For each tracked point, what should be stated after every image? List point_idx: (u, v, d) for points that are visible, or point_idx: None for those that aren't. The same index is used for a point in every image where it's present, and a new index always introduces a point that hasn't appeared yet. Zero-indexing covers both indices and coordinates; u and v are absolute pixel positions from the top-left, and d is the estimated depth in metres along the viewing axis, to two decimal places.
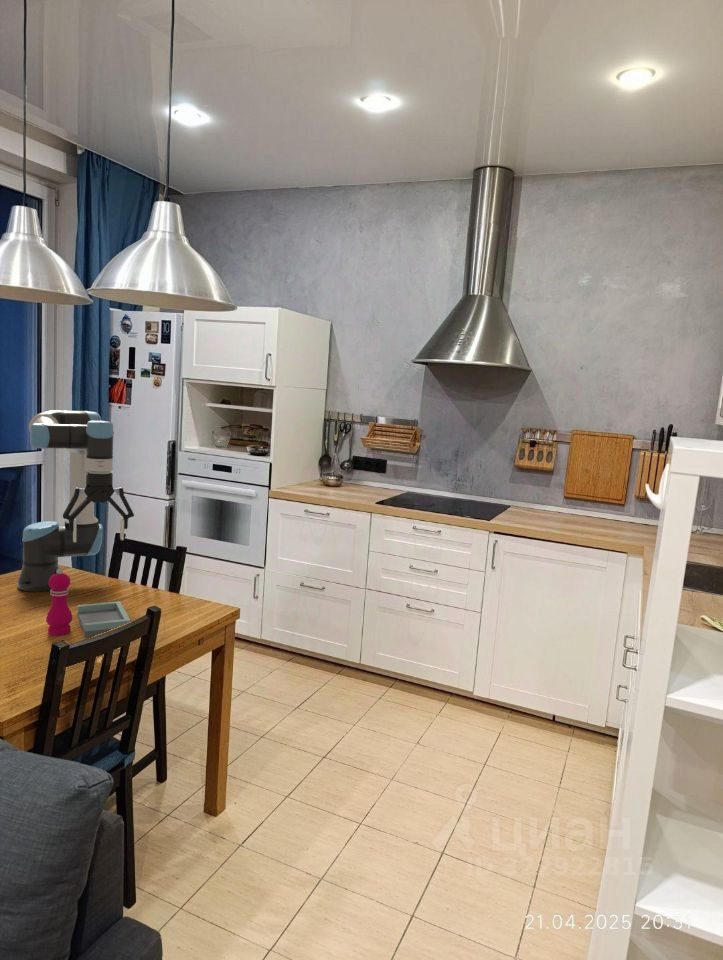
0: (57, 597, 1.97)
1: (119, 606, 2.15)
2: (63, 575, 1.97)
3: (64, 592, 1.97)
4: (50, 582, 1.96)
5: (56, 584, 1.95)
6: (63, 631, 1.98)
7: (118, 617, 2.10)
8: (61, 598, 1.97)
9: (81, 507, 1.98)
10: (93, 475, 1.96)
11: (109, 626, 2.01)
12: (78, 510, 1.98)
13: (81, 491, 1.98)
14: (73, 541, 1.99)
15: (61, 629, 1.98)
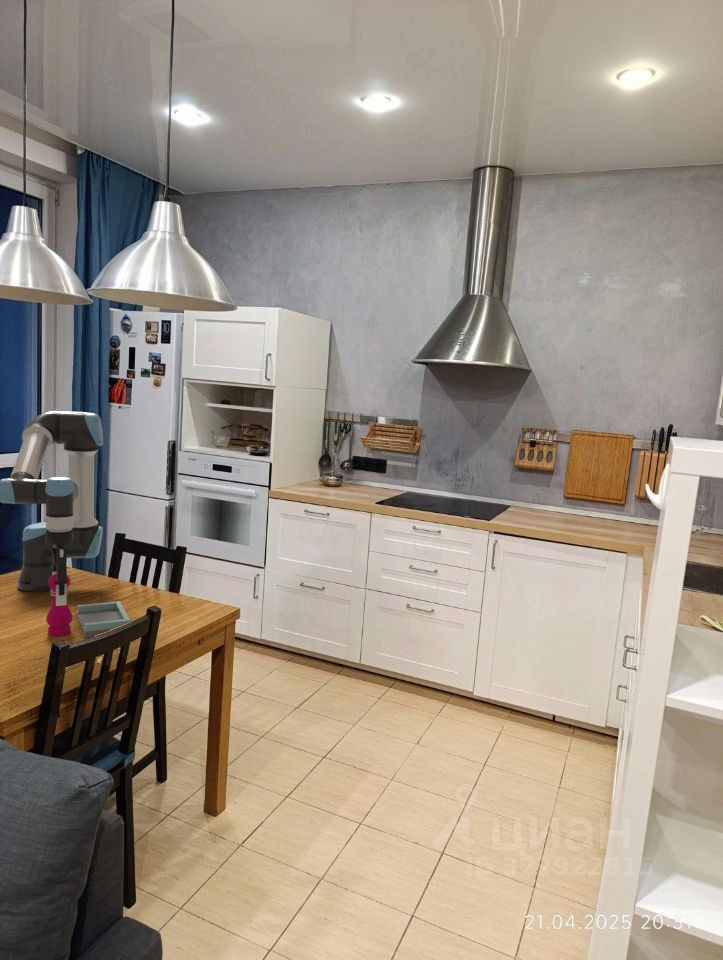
0: None
1: (119, 606, 2.15)
2: None
3: None
4: (50, 582, 1.96)
5: None
6: (63, 631, 1.98)
7: (118, 617, 2.10)
8: None
9: (53, 560, 2.01)
10: None
11: (109, 626, 2.01)
12: (53, 562, 2.02)
13: None
14: None
15: (61, 629, 1.98)
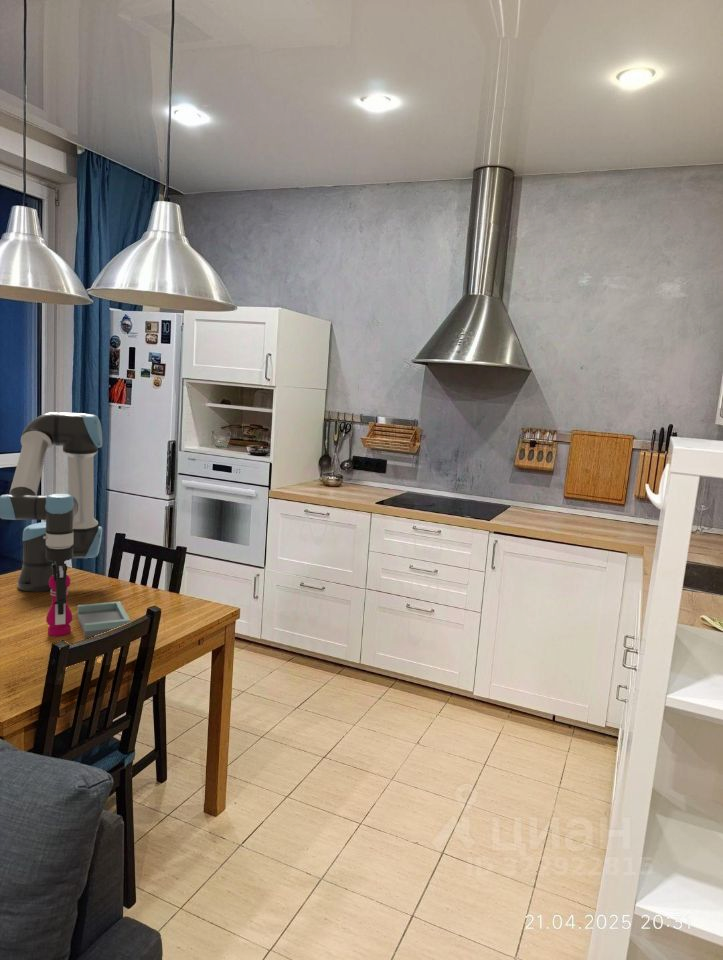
0: None
1: (119, 606, 2.15)
2: None
3: None
4: (50, 582, 1.96)
5: None
6: (63, 631, 1.98)
7: (118, 617, 2.10)
8: None
9: None
10: None
11: (109, 626, 2.01)
12: None
13: None
14: None
15: (61, 629, 1.98)
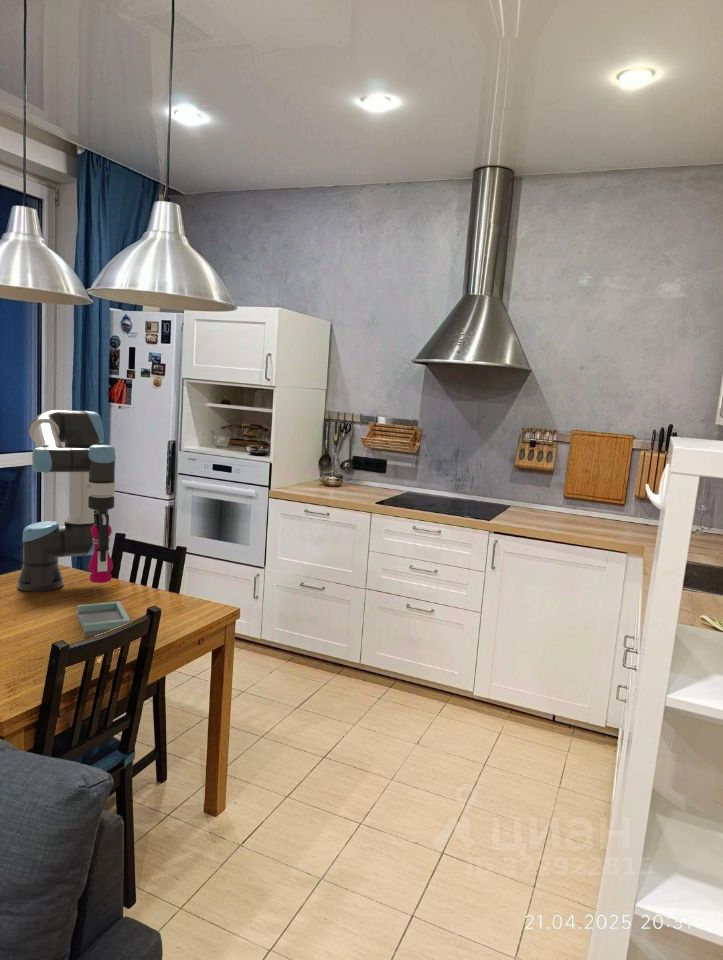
0: None
1: (119, 606, 2.15)
2: None
3: None
4: (92, 530, 2.02)
5: None
6: (105, 578, 2.04)
7: (118, 617, 2.10)
8: None
9: None
10: None
11: (109, 626, 2.01)
12: None
13: None
14: None
15: (103, 576, 2.04)
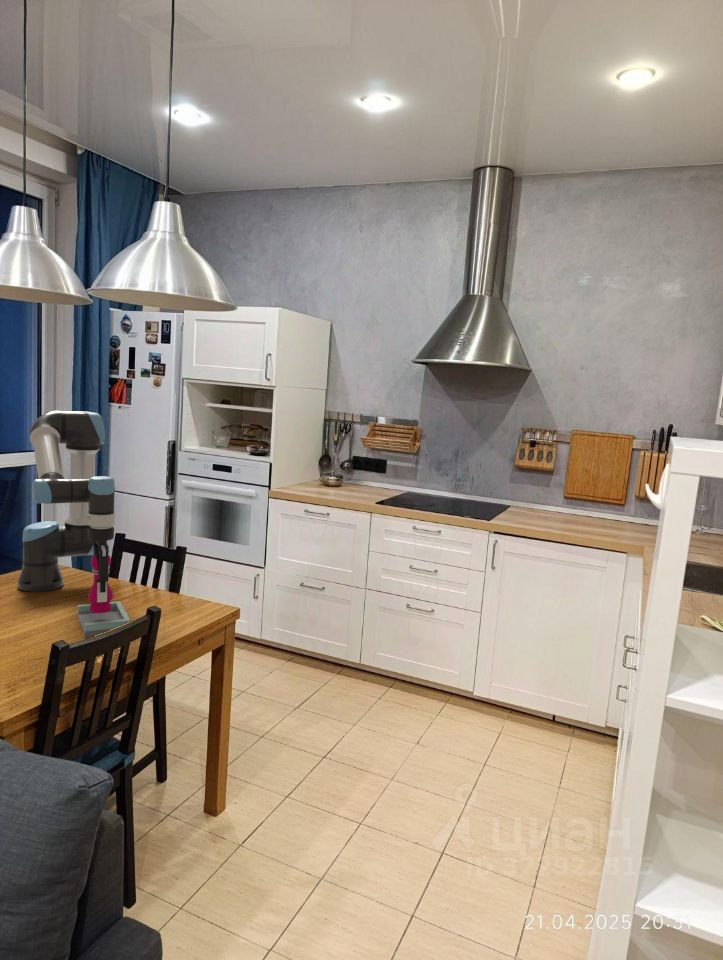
0: None
1: (119, 606, 2.15)
2: None
3: None
4: (92, 561, 2.03)
5: None
6: (104, 609, 2.05)
7: (118, 617, 2.10)
8: None
9: None
10: None
11: (109, 626, 2.01)
12: None
13: None
14: None
15: (102, 607, 2.05)
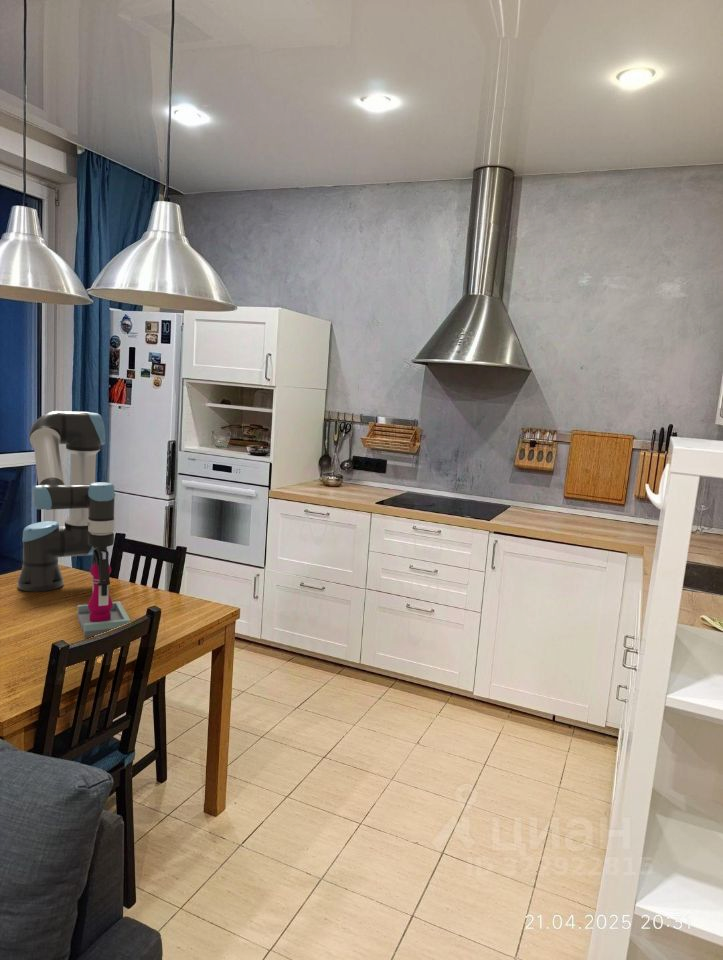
0: None
1: (119, 606, 2.15)
2: None
3: (105, 580, 2.05)
4: (92, 570, 2.04)
5: (98, 572, 2.03)
6: (104, 617, 2.06)
7: (118, 617, 2.10)
8: None
9: (94, 561, 2.10)
10: None
11: (109, 626, 2.01)
12: (93, 563, 2.10)
13: (96, 547, 2.09)
14: None
15: (102, 616, 2.06)
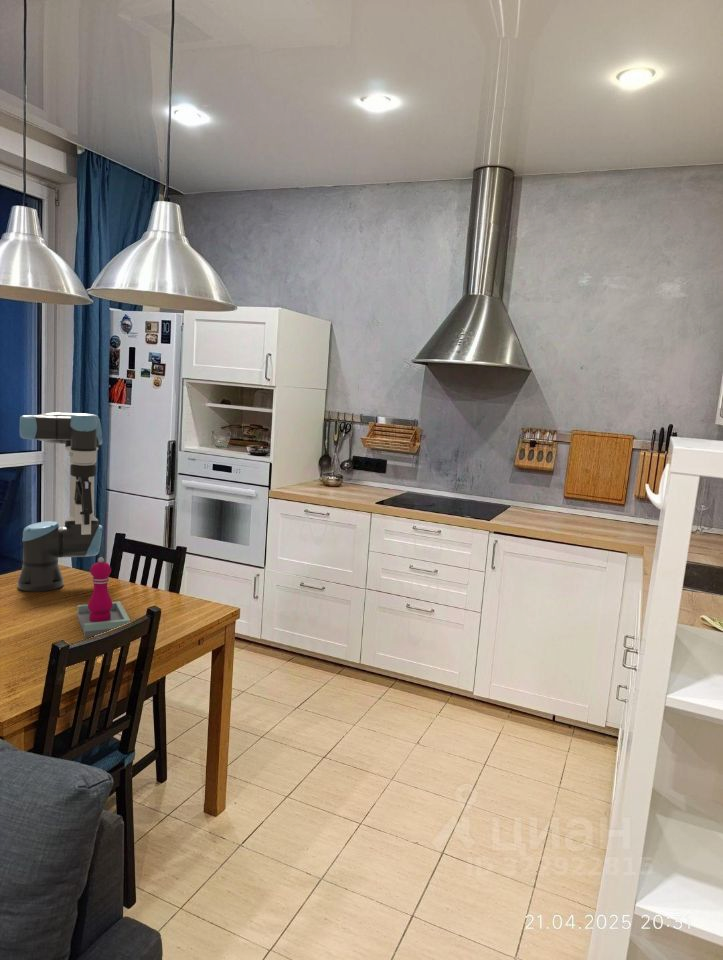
0: (99, 585, 2.05)
1: (119, 606, 2.15)
2: (104, 564, 2.05)
3: (105, 580, 2.05)
4: (92, 570, 2.04)
5: (98, 572, 2.03)
6: (104, 617, 2.06)
7: (118, 617, 2.10)
8: (102, 586, 2.05)
9: (76, 493, 2.12)
10: None
11: (109, 626, 2.01)
12: (76, 495, 2.13)
13: None
14: None
15: (102, 616, 2.06)
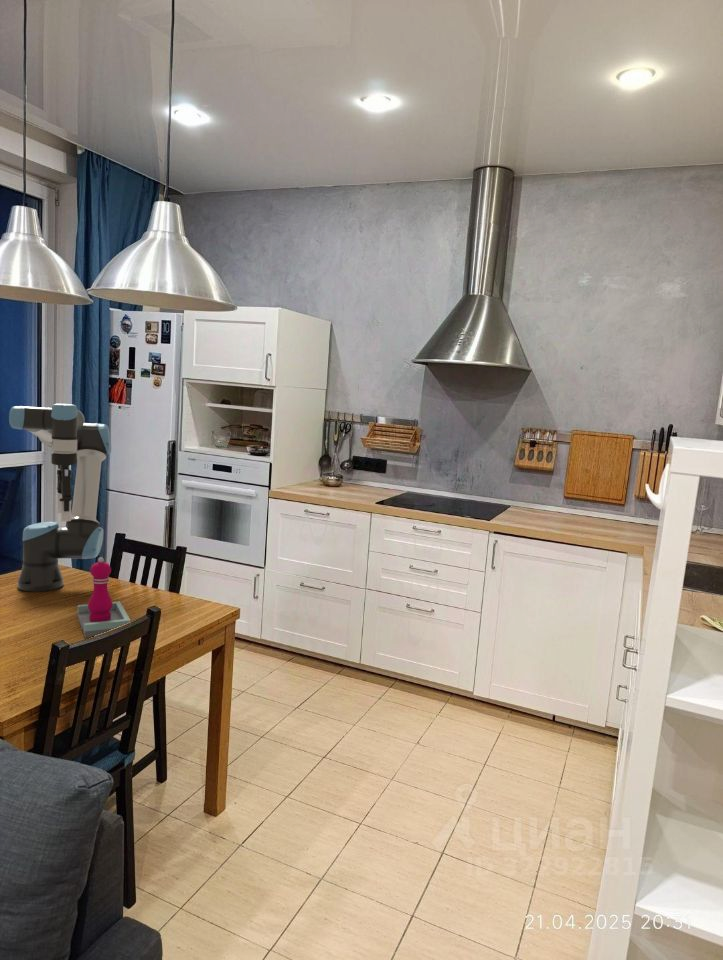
0: (99, 585, 2.05)
1: (119, 606, 2.15)
2: (104, 564, 2.05)
3: (105, 580, 2.05)
4: (92, 570, 2.04)
5: (98, 572, 2.03)
6: (104, 617, 2.06)
7: (118, 617, 2.10)
8: (102, 586, 2.05)
9: (58, 482, 2.17)
10: None
11: (109, 626, 2.01)
12: (58, 484, 2.18)
13: None
14: None
15: (102, 616, 2.06)
